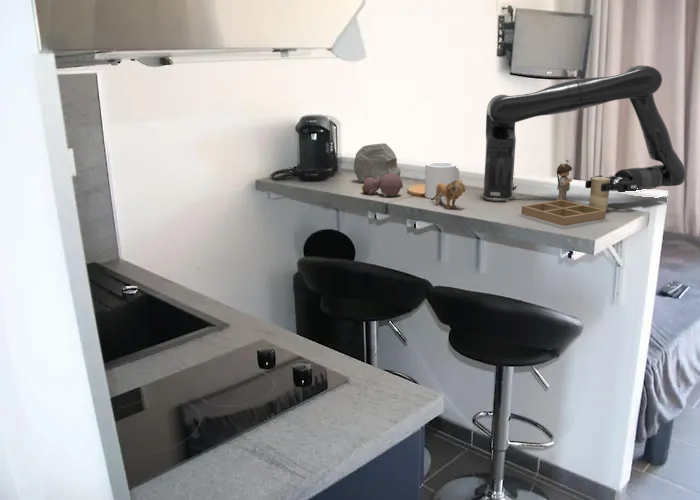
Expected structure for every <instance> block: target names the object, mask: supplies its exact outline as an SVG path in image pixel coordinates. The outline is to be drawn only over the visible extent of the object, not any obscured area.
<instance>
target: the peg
mask: <svg viewBox="0 0 700 500" xmlns="http://www.w3.org/2000/svg"><path fill="white" fill-rule="evenodd" d="M592 177H593V178H592V180H591V188H590V190H589V191H590V192H589V202H588V206H590V207H595V208H599V209H603V210H606V212H607V211H608V208H609V207H608V206H609V195H610V191H605V192H603V191H601V185H602V184H605V183H610V179H609V178H605V177H606V176H603V177H595V176H592Z"/></svg>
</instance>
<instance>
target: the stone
mask: <svg viewBox="0 0 700 500" xmlns="http://www.w3.org/2000/svg"><path fill="white" fill-rule="evenodd" d="M353 171H354V174H355V176H356V179H357V180H359V181H360V182H364V180H365V179H366V178H369V177H372V178H375V179H376V180H377V177H379V179H381V178H382V177H383V176H384V175H386V174H391V173H393V174H397V175H398V176H399V177H400V178H401V173H402V172H401V168H399V166H398V158H397V156H396V154H395V152H394V150H393V149H392V148H391V147H390V146H389V145H388V144H387V143H385V142H384V143H373V144H367V145H362V147H361V148H359V150H357V152H356V154H355V157H354V160H353Z"/></svg>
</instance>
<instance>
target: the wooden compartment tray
mask: <svg viewBox="0 0 700 500" xmlns="http://www.w3.org/2000/svg"><path fill="white" fill-rule="evenodd" d="M520 214H521V215H524V216H527V217H531V218H535V219H538V220H541V221H545V222H548V223H552V224H554V225H555V224H556V225H559V226H562V227H566V226H573V225H577V224H583V223H587V222H593V221H599V220H604V219H606V217H607V211H606V210H603V209H599V208H595V207H590V206H589V205H586V204H581V203H578V202H573V201H569V200H567V199H566V200H557V199H556V200H551V201H545V202H539V203H532V204H526V205H521V212H520Z"/></svg>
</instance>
